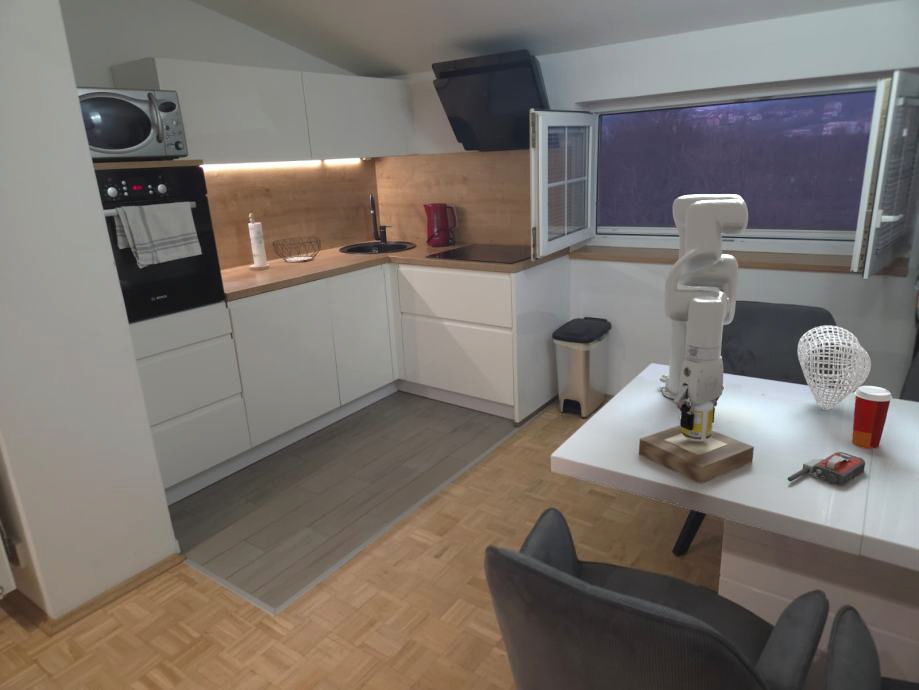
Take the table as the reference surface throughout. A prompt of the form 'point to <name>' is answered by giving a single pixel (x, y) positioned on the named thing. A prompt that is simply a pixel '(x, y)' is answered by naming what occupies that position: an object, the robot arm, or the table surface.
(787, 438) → the table surface
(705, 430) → the pill bottle
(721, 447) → the stand
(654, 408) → the table surface
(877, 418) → the paper cup
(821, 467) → the walkie-talkie
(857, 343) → the heart
